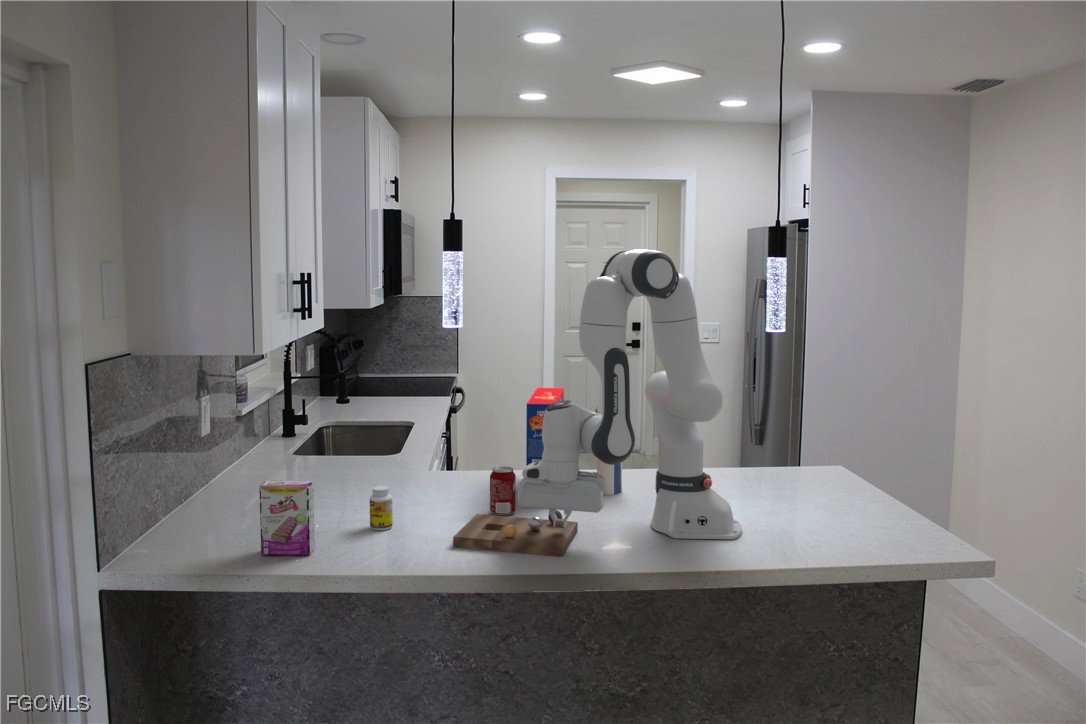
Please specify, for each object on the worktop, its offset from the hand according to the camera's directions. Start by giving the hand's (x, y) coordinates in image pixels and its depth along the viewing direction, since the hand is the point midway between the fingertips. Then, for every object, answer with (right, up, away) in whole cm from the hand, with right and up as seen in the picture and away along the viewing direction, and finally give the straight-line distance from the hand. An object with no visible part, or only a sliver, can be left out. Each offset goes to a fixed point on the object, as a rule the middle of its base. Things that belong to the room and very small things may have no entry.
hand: (560, 527), depth 202 cm
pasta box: (-3, +2, +45) cm, 45 cm away
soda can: (-15, -1, +23) cm, 28 cm away
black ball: (-1, +1, +6) cm, 7 cm away
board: (-10, -4, +3) cm, 11 cm away
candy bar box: (-62, -5, -7) cm, 63 cm away
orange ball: (-12, 0, -4) cm, 12 cm away
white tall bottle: (+15, +1, +45) cm, 47 cm away
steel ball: (-6, +1, +1) cm, 6 cm away
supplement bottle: (-44, -3, +11) cm, 46 cm away
